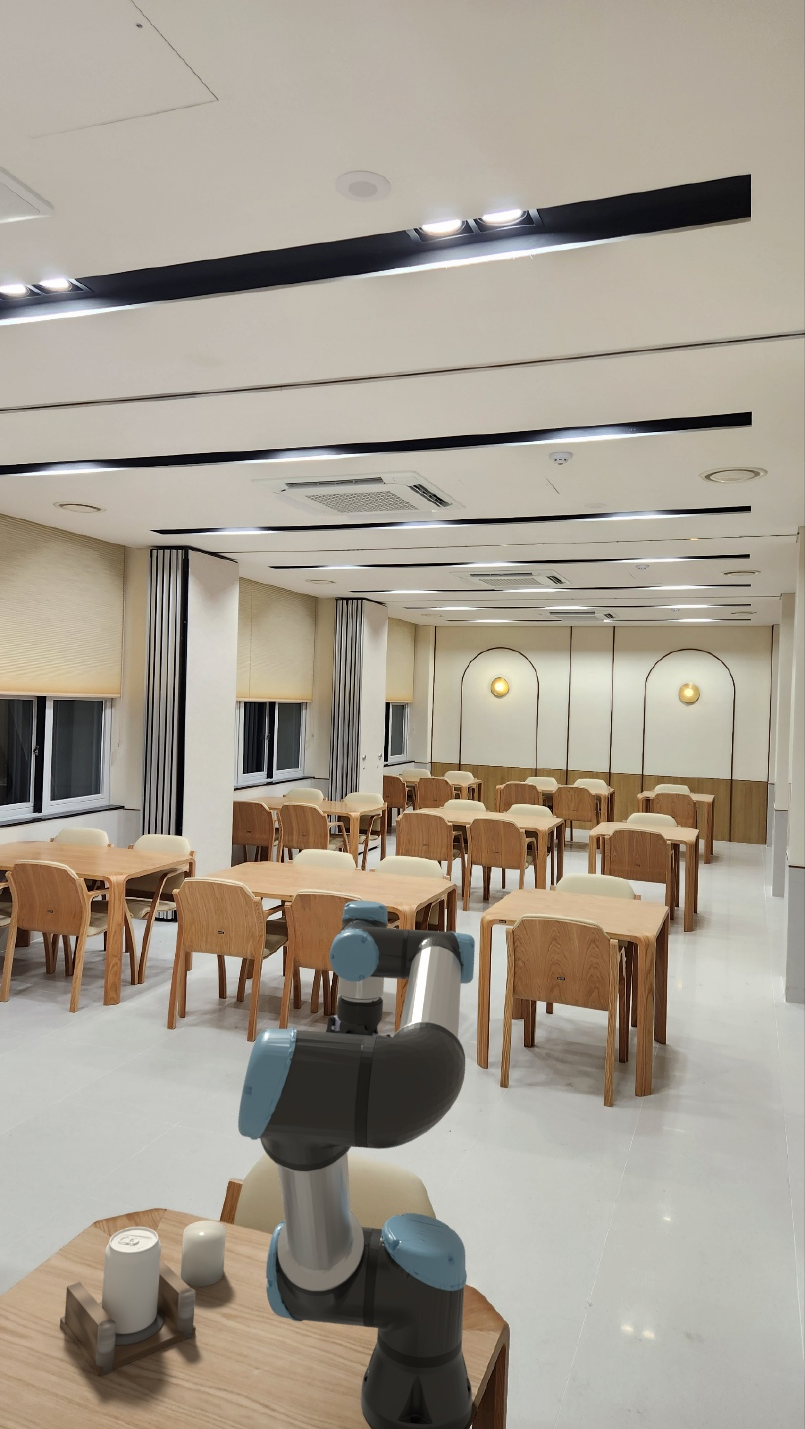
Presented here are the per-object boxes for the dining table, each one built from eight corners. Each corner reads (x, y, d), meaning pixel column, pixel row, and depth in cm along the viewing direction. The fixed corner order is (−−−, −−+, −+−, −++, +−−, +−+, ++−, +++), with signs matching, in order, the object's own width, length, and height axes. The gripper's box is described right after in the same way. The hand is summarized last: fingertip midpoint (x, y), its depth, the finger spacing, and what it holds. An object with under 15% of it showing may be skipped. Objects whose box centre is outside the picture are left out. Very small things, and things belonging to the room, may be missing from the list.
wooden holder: (195, 1334, 135) (198, 1293, 135) (99, 1376, 125) (102, 1332, 125) (152, 1288, 146) (154, 1251, 146) (59, 1324, 136) (62, 1283, 136)
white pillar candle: (231, 1276, 150) (234, 1233, 151) (193, 1291, 146) (196, 1247, 146) (209, 1257, 155) (212, 1216, 156) (173, 1271, 151) (175, 1228, 151)
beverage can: (139, 1342, 131) (145, 1258, 131) (89, 1331, 132) (95, 1248, 133) (166, 1309, 138) (171, 1229, 139) (118, 1299, 140) (123, 1221, 141)
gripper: (428, 1011, 143) (421, 1147, 142) (332, 976, 161) (325, 1096, 161) (393, 1019, 138) (385, 1159, 137) (298, 981, 156) (291, 1105, 156)
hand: (353, 1126), depth 149 cm, fingers open, 13 cm apart
